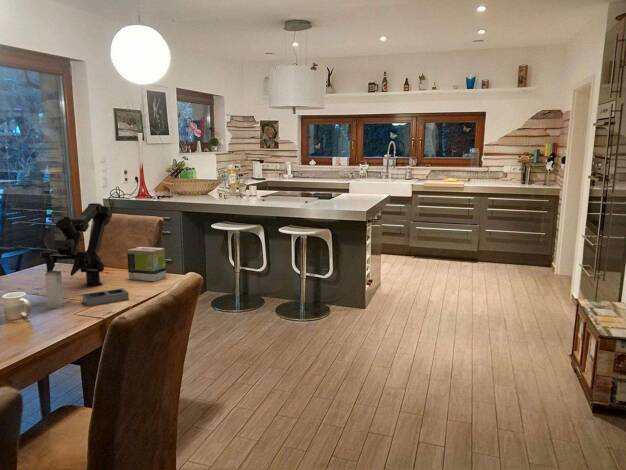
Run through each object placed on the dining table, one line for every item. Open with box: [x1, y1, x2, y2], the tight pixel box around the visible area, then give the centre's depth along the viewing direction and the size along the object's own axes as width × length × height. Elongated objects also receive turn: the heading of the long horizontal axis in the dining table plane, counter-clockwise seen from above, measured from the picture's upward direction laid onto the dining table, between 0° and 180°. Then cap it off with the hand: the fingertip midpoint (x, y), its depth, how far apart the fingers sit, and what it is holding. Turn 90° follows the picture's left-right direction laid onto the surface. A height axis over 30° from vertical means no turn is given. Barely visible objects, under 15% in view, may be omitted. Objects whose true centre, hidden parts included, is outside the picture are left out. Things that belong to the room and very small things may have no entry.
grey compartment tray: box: [81, 287, 130, 307], centre depth 198 cm, size 8×16×3 cm, turn 127°
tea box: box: [126, 246, 167, 282], centre depth 234 cm, size 15×10×15 cm
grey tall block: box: [44, 270, 64, 309], centre depth 189 cm, size 4×4×14 cm
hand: (59, 275), depth 193 cm, fingers open, 9 cm apart
